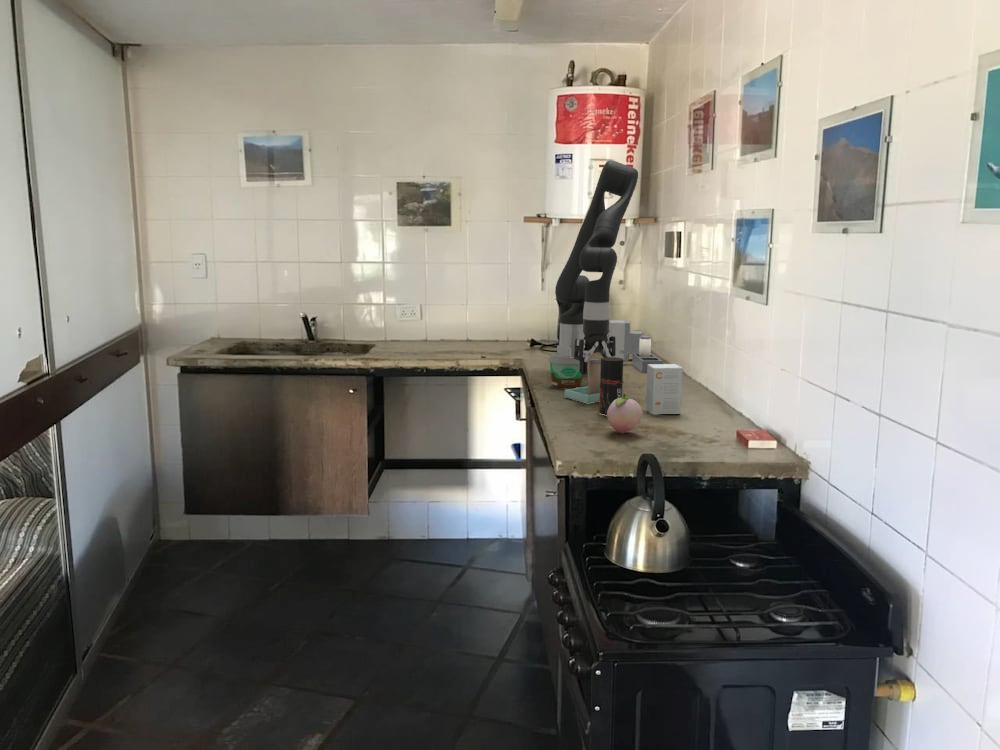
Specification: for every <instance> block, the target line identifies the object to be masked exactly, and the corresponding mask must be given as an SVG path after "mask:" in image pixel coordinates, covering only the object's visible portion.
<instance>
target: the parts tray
mask: <svg viewBox="0 0 1000 750" xmlns="http://www.w3.org/2000/svg"><path fill="white" fill-rule="evenodd" d="M623 396H624V390H623V389H622V397H623ZM564 397H565V398H564V399H566V398H569V399H574V400H578V401H582V402H586V403H590V402H599V401H600V393H598V394H591V395H587V386H581V387H580V388H574V389H564ZM569 399H568V400H569Z"/></svg>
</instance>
